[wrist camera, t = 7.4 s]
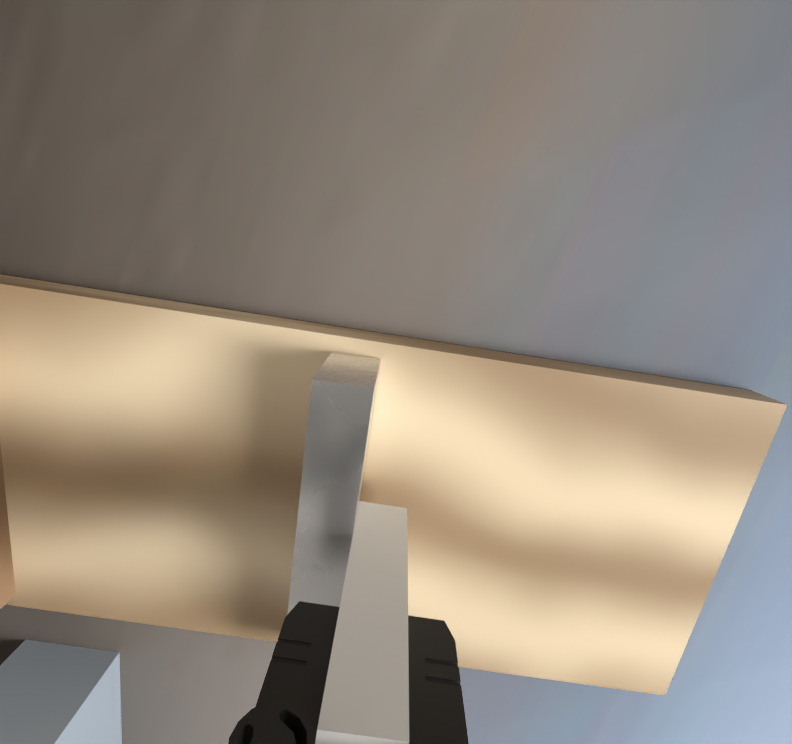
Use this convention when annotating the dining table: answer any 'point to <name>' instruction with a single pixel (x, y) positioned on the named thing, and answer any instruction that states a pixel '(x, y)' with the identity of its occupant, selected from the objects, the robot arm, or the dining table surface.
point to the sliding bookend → (332, 476)
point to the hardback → (60, 695)
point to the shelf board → (382, 482)
